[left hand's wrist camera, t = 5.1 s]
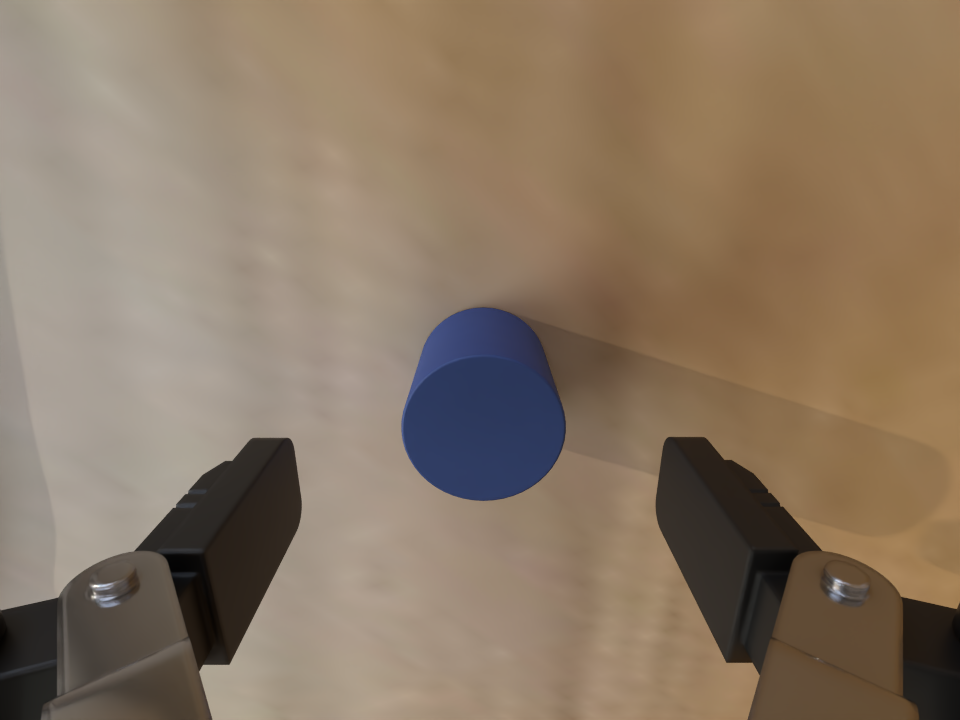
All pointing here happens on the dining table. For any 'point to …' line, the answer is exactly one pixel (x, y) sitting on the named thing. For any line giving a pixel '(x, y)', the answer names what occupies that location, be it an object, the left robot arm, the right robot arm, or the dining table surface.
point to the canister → (483, 407)
